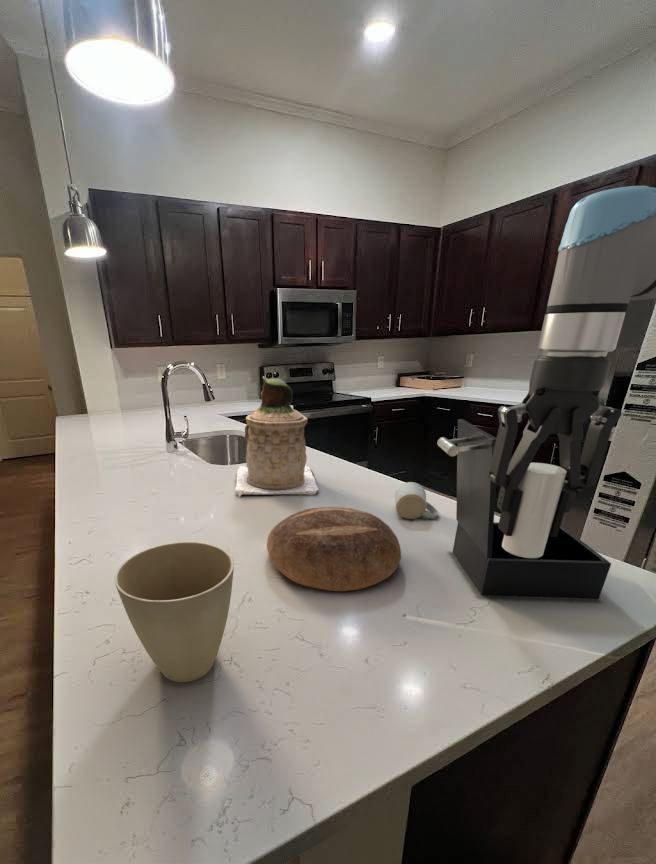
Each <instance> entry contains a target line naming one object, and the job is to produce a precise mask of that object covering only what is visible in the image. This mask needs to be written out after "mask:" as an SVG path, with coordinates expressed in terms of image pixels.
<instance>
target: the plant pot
mask: <svg viewBox="0 0 656 864" xmlns="http://www.w3.org/2000/svg"><path fill="white" fill-rule="evenodd" d="M234 568H235V561H234V558H233V556H232V555H231V554H230V553H229V552H228V551H227V550H226V549H224V548H222V547H220V546H218V545H215V544H213V543H208V542H202V541H178V542H177V541H175V542H169V543H164V544H159V545H156V546H152V547H149V548H146V549H144V550H142V551H139V552H138V553H136V554H135V553H134V555H132V556H130V557H129V558H127V559H126V560H125V561H124V562H123V563H121V565H119V567H118V568H117V570H116V572H115V574H114V584H115V588H116V590H117V592H118V595H119V598H120V600H121V603H122V605H123V608H124V610H125V613H126V615H127V617H128V620H129V623H130V624H131V626H132V628H133V630H134V632H135V634H136V636H137V637H138V639H139V641H140V643H141V645H142V646H143V648H144V649H145V651H146V653H147V654H148V656H149V658H150V659H151V661H152V662H153V663H154V664H155V666H156V667H157V669H158V670H159V671H160V672H161V674H162V675H163V676H164V677H165V678H166V679H168V680H169V681H172V682H176V683H190V682H194V681H196V680H199V679H201V678H203V677H204V676H206V675H207V674H208V673H209V672H210V671H211V669H212V668H213V666H214V663H215V661H216V659H217V655H218V653H219V650H220V648H221V644H222V640H223V637H224V633H225V630H226V627H227V626H226V625H227V621H228V615H229V610H230V605H231V597H232V591H233V579H234Z"/></svg>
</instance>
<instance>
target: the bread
mask: <svg viewBox="0 0 656 864" xmlns="http://www.w3.org/2000/svg"><path fill="white" fill-rule="evenodd" d="M266 549H267V553H268V556H269V559H270V561H271V563H272V565H273V567H275V568H276V569H277V570H278V571H279V572H280V573H281V574H282V575H284V576H285V577H286V578H287V579H288V580H290V581H292V582H294V583H296V584H298V585H301V586H304V587H308V588H312V589H318V590H323V591H331V592H349V591H358V590H361V589H366V588H368V587H372V586H374V585H376V584H379V583H381V582H383V581H384V580H386V579H388V578H389V577H391V576H392V574H394V573H395V572H396V570H397V568H398V566H399V564H400V561H401V559H402V554H401V553H402V552H401V551H402V550H401V544H400V542H399V539H398V537H397V535H396V534H395V532H394V531H393V530H392V528H391V527H390V525H388V524H387V523H386V522H384V521H383V520H382V519H381V518H379V517H377V516H376V515H374V514H372V513H370V512H366V511H364V510H359V509H356V508H355V509H354V508H349V507H338V506H337V507H335V506H325V507H321V506H320V507H314V508H308V509H304V510H300V511H298V512H296V513H293V514H291V515H289V516H287V517H286V518H283V519H282V520H281V521H279V522H278V523H277V524H276V525H275V526H274V527H272V528H271V530H270V532H269V534H268V536H267V539H266Z"/></svg>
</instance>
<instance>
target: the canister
mask: <svg viewBox="0 0 656 864" xmlns="http://www.w3.org/2000/svg"><path fill="white" fill-rule="evenodd" d="M566 474H567V471H566V470H565V469H563V468H561V467H560V466H559V465H555V464H549V463H544V462H531V463H530V465H529V467H528V469H527V471H526V472H525V474H524V476H523V478H522V480H521V482H520V484H519V485H518V487H517V488H519V489H520V490H521V491H523V493H522V497H521V501H520V505H519V509H518V513H517V517H516V521H515V525H514V529H513V533H512V536H506V535H505V534H504V537H503V542H502V547H503V549H504V550H506V551H507V552H509V553H511V554H513V555H516V556H520V557H525V558H539V557H541V556H542V555H543V554H544V551H545V547H546V544H547V540H548V537H549V533H550V530H551V526H552V523H553V519H554V516H555V512H556V509H557V505H558V502H559V498H560V495H561V491H562V488H563V484H564V481H565V477H566Z"/></svg>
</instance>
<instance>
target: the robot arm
mask: <svg viewBox="0 0 656 864" xmlns="http://www.w3.org/2000/svg"><path fill="white" fill-rule="evenodd" d="M557 252H558V255H557V260H556V264H555V269H554V274H553V278H552V281H551V282H552V283H551V287H550V292H549V297H548V300H547V305H546V306H547V307H546V311H545V314H544V319H543V322H542V327H541V330H540V336H539V340H538V345H537V350H539V351H541V352H542V353H541V355H537V356H536V358H534V360H533V365H532V371H531V374H530V379H529V386H528V392H527V394H526V396H525V397H524V398H523V400H522V401H521V403H518V404H514V405H511V406H506V405H501V406H499V408H498V410H497V416H498V422H499V425H498V430H497V435H496V437H495V438H496V443H495V447H494V451H493V455H492V460H491V464H490V468H489V472H488V478H489V479H490V480H491V481H492V482H494V483H495V484H496V486H499V487H500V488H499V492H498V498H497V502H496V506H497V508H498V509H499V510H500V517H499V520H498V523H499V524H498V528H499V529H500V530H501V531H502V532H503V533H504V534H505V535H506V536H512V533H513V529H514V525H515V521H516V517H517V513H518V509H519V505H520V501H521V497H522V493H523V491H521V490H520V489H519V488H517V487H518V485H519V484H520V482H521V480H522V478H523V476H524V474H525V472H526V471H527V469H528V467H529V465H530V463H532V461H533V460H534V458H535V456H536V455H537V452H538V450H539V449H540V447H541V445H542V443H544V442H546V441H547V439H548V437H549V435H554V434H556V435H557V437H558V441H559V443H558V445H559V449H558V450H559V467H561V468H563V469H565V470H566V471H567V474H566V477H565V481H564V484H563V488H562V491H561V495H560V498H559V502H558V505H557V509H556V512H555V516H554V519H553V523H552V526H551V530H550V533H549V536H551V537H557V536H558V532H559V529H560V525H561V526H562V522H563V518H564V515H565V513H566V514H567V513H570V512H571V510H572V508H573V504H574V500H575V498H576V494H581V493H583V492H584V490H585V488H586V487H588V488H592V487H594V486H596V484H597V483H598V478H599V475H600V471H601V468H602V465H603V461H604V458H605V454H606V451H607V449H608V448H607V447H608V444H609V440H610V437H611V433H612V430H613V429H614V427H615V425H616V424H617V423H618V421H619V419H620V418H621V416H622V415H623V413H622V410H621V409H618V408H613V407H610V406H607V405H606V406H605V405H602V404H601V400H600V392H601V390H602V389H603V388H604V387H605V384H606V381H607V378H608V374H609V371H610V368H611V364H612V362H613V361H612V359H611V357H610V356H608V353H609V352H610V353H611V352H613V351H614V350H615V351H616V349H617V345H618V342H619V338H620V335H621V331H622V327H623V323H624V321H625V316H626V312H627V310H628V307H629V304H630V302H631V301H639V300H653V299H654V300H655V299H656V187H653V186H651V187H650V186H648V185H631V186H629V185H628V186H621V187H615V188H611V189H605V190H601V191H597V192H594V193H592V194H589V195H587V196H585V197H583V198H581V199H579V201H577V202H576V203H575V204H574V206H572V208H571V210H570V212H569V215H568V218H567V222H566V224H565V227H564V230H563V234H562V237H561V241H560V244H559V246H558V249H557ZM523 415H525V417H526V419H527V424H526V425H525V427H524V429H523V431H522V437H521V439H520V441H519V443H518V445H517V447H516V449H515V451H514V453H513V450H514V446H515V443H516V439H517V435H518V430H519V423H521V422H522V420H523V419H522V418H523ZM589 419H590V423H589V425H588V429H587V432H586V435H585V438H584V424H585V423H586V421H588V420H589ZM583 439H584V443H583V447H582V450H581V446H582V445H581V444H582V440H583Z"/></svg>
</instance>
